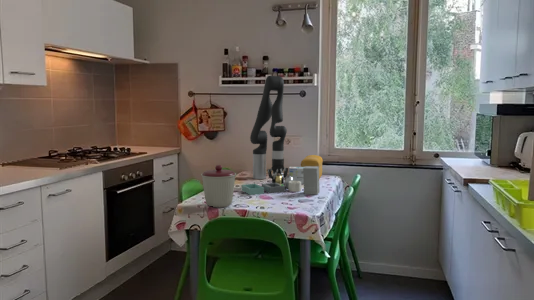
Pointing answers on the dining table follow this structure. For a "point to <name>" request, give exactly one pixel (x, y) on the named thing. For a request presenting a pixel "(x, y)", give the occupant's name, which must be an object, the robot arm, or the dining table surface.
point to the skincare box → (311, 180)
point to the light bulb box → (296, 174)
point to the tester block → (273, 187)
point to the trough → (252, 189)
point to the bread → (313, 162)
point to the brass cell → (278, 179)
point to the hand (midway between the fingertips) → (277, 184)
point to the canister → (218, 186)
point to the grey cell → (287, 181)
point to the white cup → (294, 186)
